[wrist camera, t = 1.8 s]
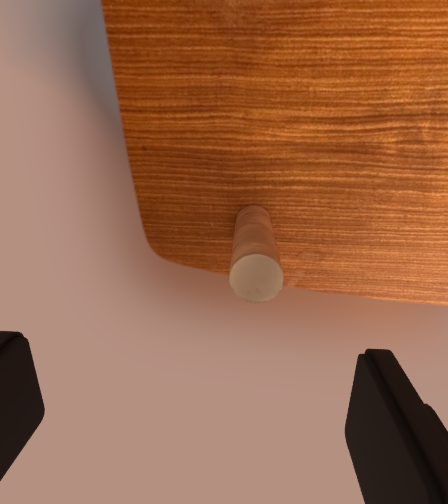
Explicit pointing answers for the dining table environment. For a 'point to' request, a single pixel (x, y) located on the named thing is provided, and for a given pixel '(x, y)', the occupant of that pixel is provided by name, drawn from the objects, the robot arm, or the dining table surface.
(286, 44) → the dining table surface
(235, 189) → the dining table surface
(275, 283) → the stirring stick
